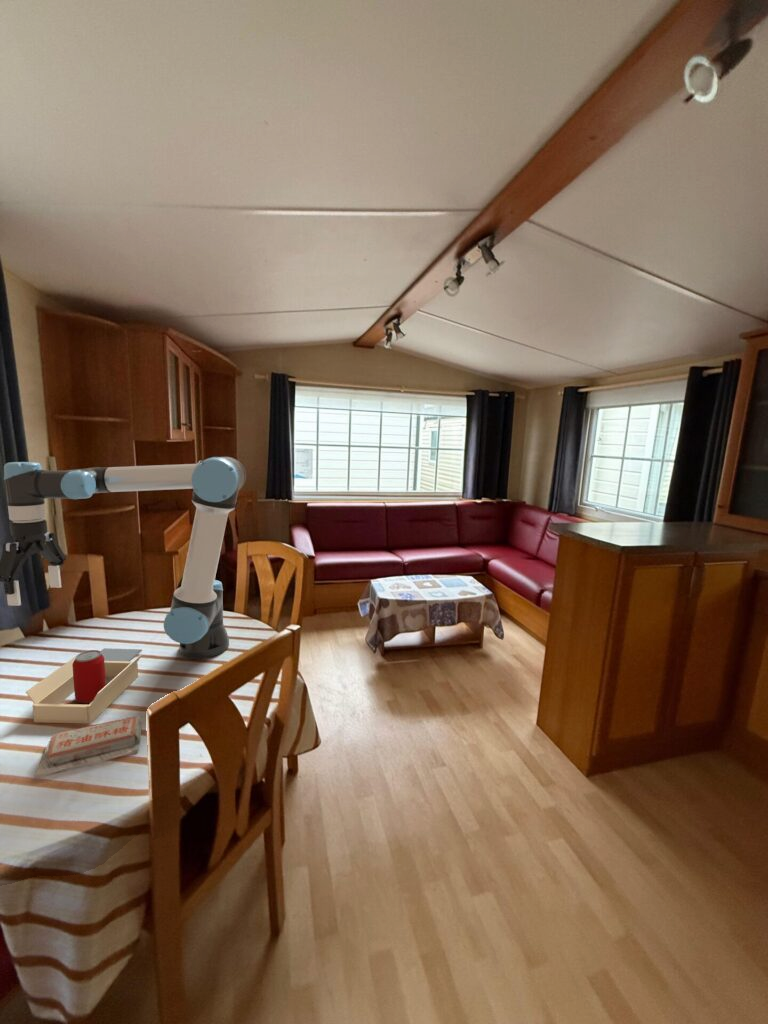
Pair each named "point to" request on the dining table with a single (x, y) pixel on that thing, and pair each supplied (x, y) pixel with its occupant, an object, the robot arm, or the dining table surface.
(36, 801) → the dining table surface
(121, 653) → the coaster
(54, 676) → the carton
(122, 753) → the packaged product
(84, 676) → the beverage can
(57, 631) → the dining table surface
